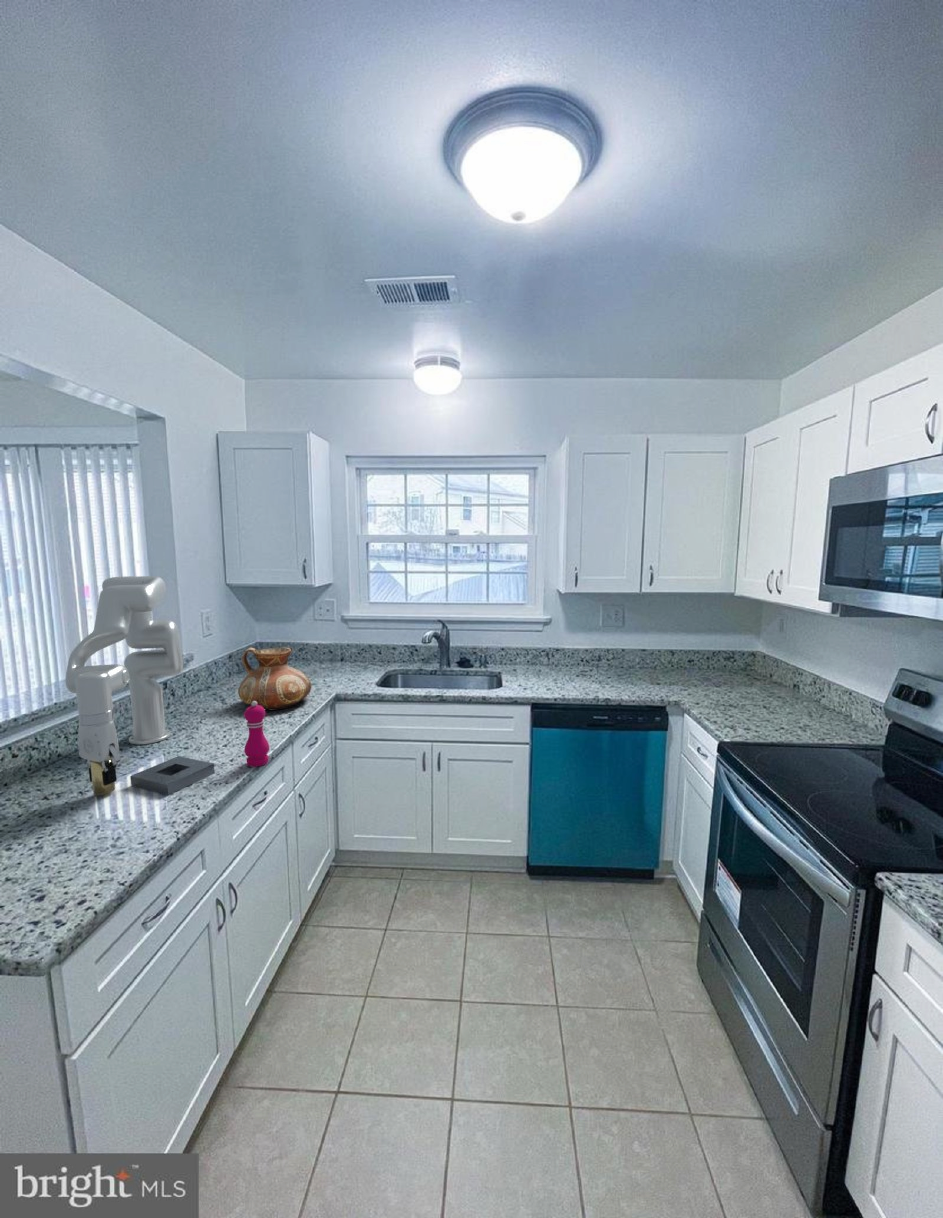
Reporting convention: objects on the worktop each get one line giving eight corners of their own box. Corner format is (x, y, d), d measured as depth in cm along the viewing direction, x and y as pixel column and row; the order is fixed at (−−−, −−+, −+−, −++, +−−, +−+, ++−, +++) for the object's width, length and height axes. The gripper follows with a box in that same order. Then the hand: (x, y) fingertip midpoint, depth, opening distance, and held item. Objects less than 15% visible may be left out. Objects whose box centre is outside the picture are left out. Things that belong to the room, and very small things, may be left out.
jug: (298, 690, 243) (296, 638, 240) (324, 704, 220) (322, 647, 217) (231, 702, 224) (227, 646, 221) (252, 719, 201) (248, 657, 198)
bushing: (89, 793, 139) (86, 761, 137) (107, 785, 143) (104, 754, 142) (100, 796, 137) (97, 764, 136) (119, 788, 141) (115, 757, 140)
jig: (131, 786, 145) (130, 775, 145) (179, 765, 159) (178, 756, 158) (168, 795, 139) (167, 784, 139) (214, 773, 153) (213, 763, 153)
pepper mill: (243, 768, 156) (239, 705, 154) (247, 759, 163) (243, 698, 160) (268, 766, 158) (265, 703, 155) (271, 756, 165) (268, 696, 162)
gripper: (61, 717, 137) (68, 781, 139) (102, 726, 131) (109, 793, 133) (91, 709, 144) (97, 770, 146) (131, 717, 137) (137, 781, 140)
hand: (103, 780), depth 140 cm, fingers closed on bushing, 4 cm apart
